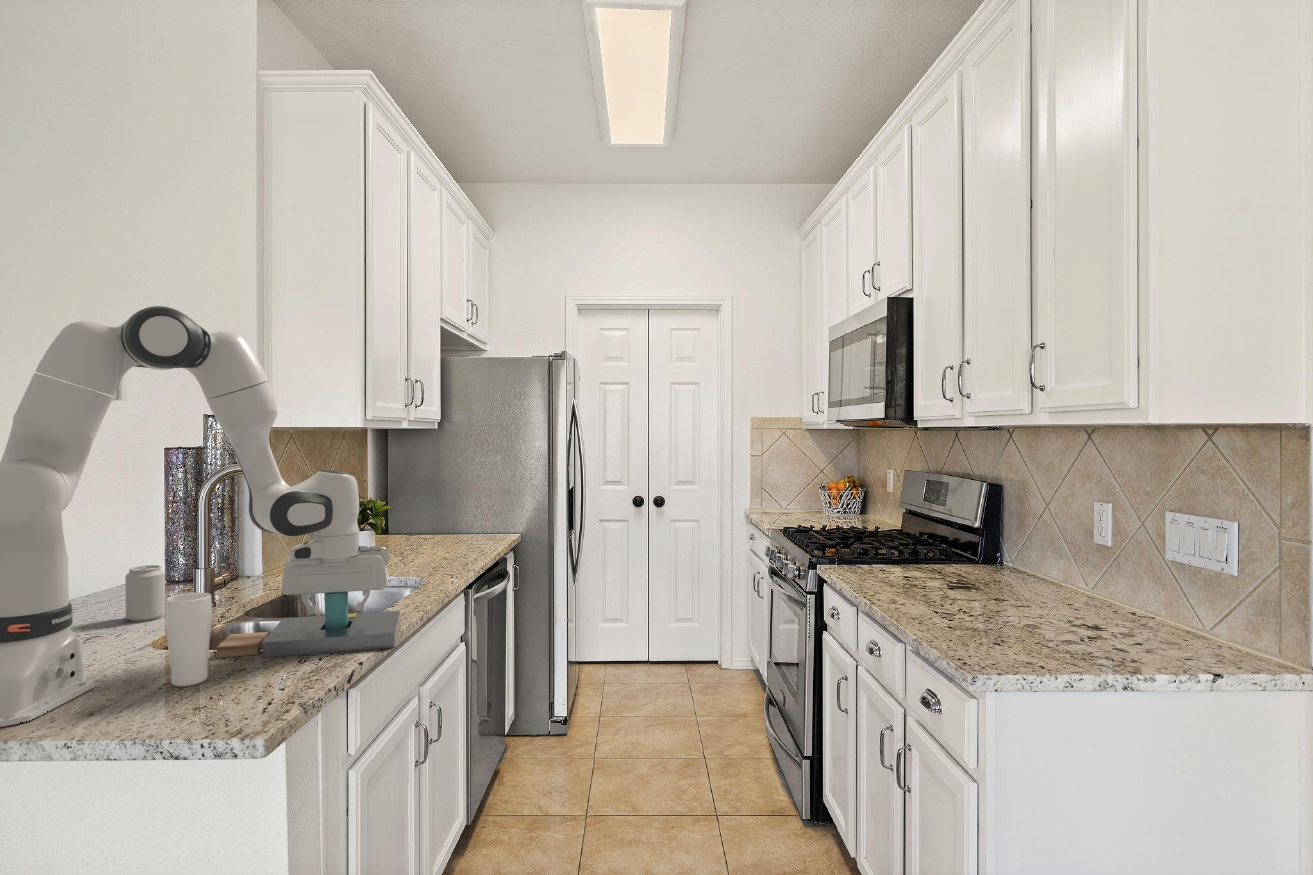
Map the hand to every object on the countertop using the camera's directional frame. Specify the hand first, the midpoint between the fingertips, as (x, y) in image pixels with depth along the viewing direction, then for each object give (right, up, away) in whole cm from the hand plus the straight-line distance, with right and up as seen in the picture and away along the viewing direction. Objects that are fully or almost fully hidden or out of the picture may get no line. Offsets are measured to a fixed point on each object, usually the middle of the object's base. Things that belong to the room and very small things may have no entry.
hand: (336, 612), depth 149 cm
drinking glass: (-14, -6, -25) cm, 30 cm away
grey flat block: (0, -6, 0) cm, 6 cm away
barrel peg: (0, -6, 0) cm, 6 cm away
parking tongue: (-16, -6, -7) cm, 18 cm away
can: (-52, -5, +16) cm, 54 cm away
